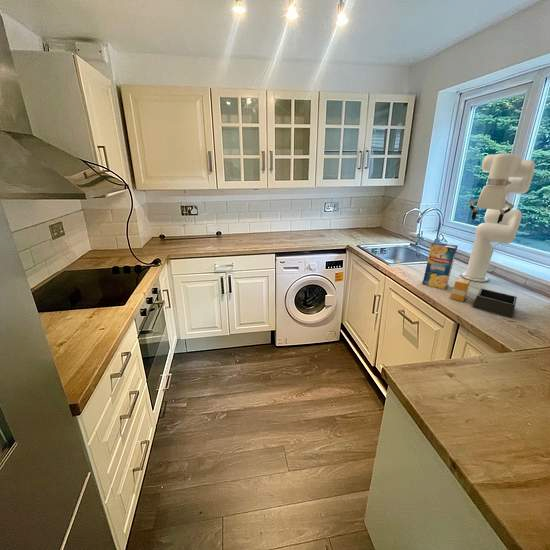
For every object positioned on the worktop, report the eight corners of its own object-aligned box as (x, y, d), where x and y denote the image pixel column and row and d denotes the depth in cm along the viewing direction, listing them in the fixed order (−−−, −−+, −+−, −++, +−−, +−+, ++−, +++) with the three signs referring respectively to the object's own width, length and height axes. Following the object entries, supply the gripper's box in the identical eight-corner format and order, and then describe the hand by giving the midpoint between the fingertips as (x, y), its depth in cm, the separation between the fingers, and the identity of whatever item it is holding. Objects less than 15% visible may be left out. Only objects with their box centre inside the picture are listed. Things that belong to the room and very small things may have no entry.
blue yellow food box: (445, 289, 148) (455, 248, 140) (422, 283, 155) (431, 244, 147) (447, 285, 153) (457, 245, 145) (425, 280, 160) (434, 241, 152)
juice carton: (453, 294, 142) (457, 278, 139) (465, 298, 139) (470, 280, 135) (450, 298, 138) (455, 281, 135) (462, 301, 135) (467, 284, 131)
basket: (473, 307, 130) (476, 295, 128) (477, 299, 138) (480, 288, 136) (510, 317, 121) (515, 305, 119) (513, 308, 130) (517, 296, 127)
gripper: (521, 184, 126) (509, 223, 132) (475, 182, 136) (465, 218, 142) (520, 184, 121) (507, 225, 126) (472, 182, 131) (462, 219, 137)
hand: (485, 221), depth 134 cm, fingers open, 9 cm apart
